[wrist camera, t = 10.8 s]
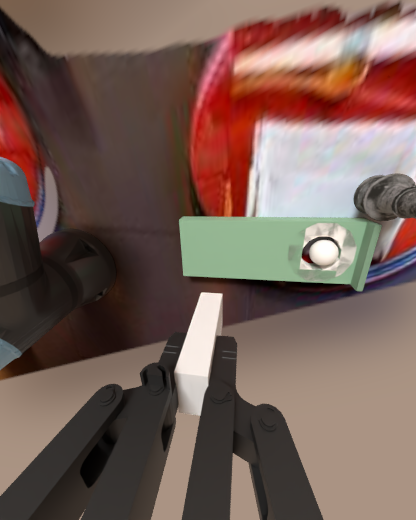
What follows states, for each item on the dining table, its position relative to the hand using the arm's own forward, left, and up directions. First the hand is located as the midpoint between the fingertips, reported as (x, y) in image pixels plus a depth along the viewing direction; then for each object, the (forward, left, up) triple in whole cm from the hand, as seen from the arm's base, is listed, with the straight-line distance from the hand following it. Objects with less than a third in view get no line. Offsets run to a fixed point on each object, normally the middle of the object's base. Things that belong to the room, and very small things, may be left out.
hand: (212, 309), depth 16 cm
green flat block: (+6, -3, -22) cm, 23 cm away
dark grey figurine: (+20, +5, -23) cm, 31 cm away
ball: (+14, -3, -20) cm, 25 cm away
